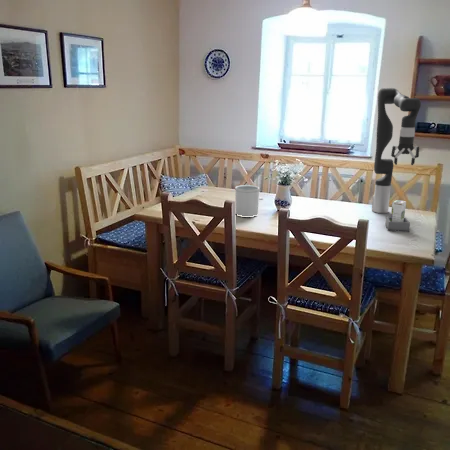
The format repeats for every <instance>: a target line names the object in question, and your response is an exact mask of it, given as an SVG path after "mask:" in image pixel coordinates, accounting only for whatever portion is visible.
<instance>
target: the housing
mask: <svg viewBox="0 0 450 450" xmlns="http://www.w3.org/2000/svg"><path fill="white" fill-rule="evenodd" d="M390 219H391V216H385V223H384V225H385V227H386V230H387V231H389V232H408V233H410V226H411V223H410V221H409V219H408V218H407V217H404V222H390Z"/></svg>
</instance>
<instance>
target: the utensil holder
mask: <svg viewBox="0 0 450 450" xmlns="http://www.w3.org/2000/svg"><path fill="white" fill-rule="evenodd" d="M234 189H235V215H236V214H238V215H242V216H253V215H257V214H258V215H259V202H260V201H259V199H260V197H259V196H260V187H259V186H256V185H252V184H251V185H249V184H244V185H243V184H242V185H241V184H240V185H236V186H235V187H234Z"/></svg>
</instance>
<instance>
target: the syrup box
mask: <svg viewBox="0 0 450 450" xmlns="http://www.w3.org/2000/svg"><path fill="white" fill-rule="evenodd" d="M406 206H407V201H405V200H400V199H396V200H394V201H392V205H391V213H390V217H391V219H390V222H404V218H405V213H406Z"/></svg>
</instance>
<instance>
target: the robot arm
mask: <svg viewBox="0 0 450 450" xmlns="http://www.w3.org/2000/svg"><path fill="white" fill-rule="evenodd" d="M392 104H394V105H395V106H396V107H397V108H399V109H400V111H401V112H407V113H408V112H410V113H409V114H408V115H404V116H402V118H401V124H400V125H401V126H400V130H399V138H398V139H399V141H398V146H397V145H393V146H392V149H391V155H390V156H391V157H392V158H394V159H391V158H382V155H383V154H384V153H383V152H384V151H385V150H386V147H387V146H388V145H389V144H390V142H391V141H392V139H393V136H394V135H393V134H394V133H393V132H394V131H393V130H394V126H393V122H392V121H391V119H390V117H389V115H388V114H387V111H386V105H392ZM421 107H422V101H421V100H420V99H419V98H418V97H409V96H407V95H405V94H402V92H400V91H399V90H398V89H397V88H393V87H391V88H390V87H389V88H388V87H382V88H379V90H378V93H377V121H376V122H377V123H376V125H377V126H376V141H375V142H376V143H375V144H376V145H375V146H376V147H375V155H374V156H375V157H374V163H373V170H374V174H377V175H383V176H382V177H379V178H376V180H375V182H374V183H375V184H374V192H373V193H374V194H373V196H372V202H371V203H372V204H371V211H372V212H374V213H376V214H377V213H379V214H387V213H389V208H390V207H389V206H390V197H391V196H390V195H391V185H392V178H393V171H394V165H396V166H397V165H398V157H399V156H401V154H402V155H410V157H411V162H410V165H411V166H413V165H415V161H416V159H417V158H419V156H420V147H419V146H418V145H416V146H414V143H415V141H414V140H415V135H416V134H415V133H416V132H415V131H416V120H417V116H418V113H419V111H420V109H421ZM397 149H398V151H397V152H395V151H396V150H397ZM413 150H415V154H414V153H413ZM395 153H396V154H395Z"/></svg>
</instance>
